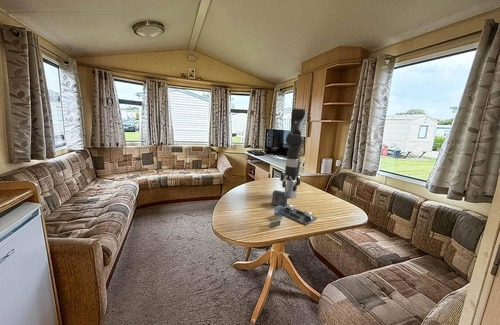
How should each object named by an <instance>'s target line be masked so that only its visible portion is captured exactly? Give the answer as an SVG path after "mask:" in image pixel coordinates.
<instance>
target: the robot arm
mask: <svg viewBox="0 0 500 325" xmlns="http://www.w3.org/2000/svg"><path fill="white" fill-rule="evenodd" d="M307 117H308V110H307V109H305V108H293V109H292V110H291V117H290V131H289V132H288V134H287V135H286V137H285V142H286V144H287V145H288V149H287V155H286V162H285V168H284V171H281V173H280V181H281V182H282V184H281V187H282V188H283V189H284V192H287V193H288V196H287V198H291V199H294V198H296V197H297V191H298V186H301V176H299V174H300V173H299V172H300V167H301V159H300V158H299V155H300V149H301V148H302V146H303V142H304V137H303V135H302V132H303V128H304V125H305V123H306V121H307Z"/></svg>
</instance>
